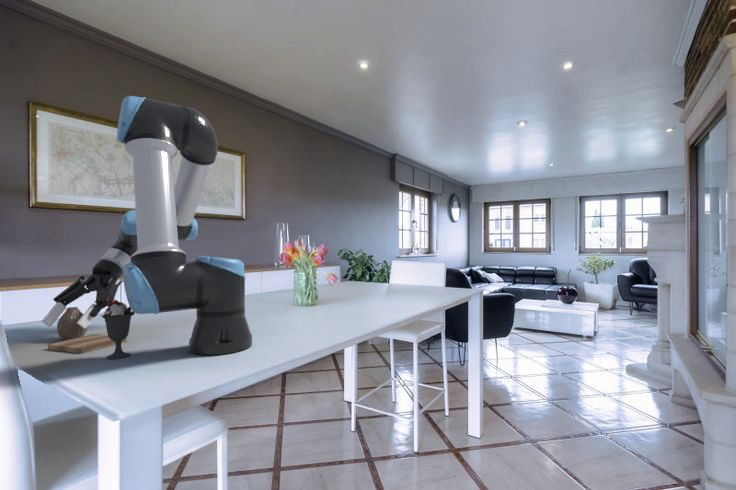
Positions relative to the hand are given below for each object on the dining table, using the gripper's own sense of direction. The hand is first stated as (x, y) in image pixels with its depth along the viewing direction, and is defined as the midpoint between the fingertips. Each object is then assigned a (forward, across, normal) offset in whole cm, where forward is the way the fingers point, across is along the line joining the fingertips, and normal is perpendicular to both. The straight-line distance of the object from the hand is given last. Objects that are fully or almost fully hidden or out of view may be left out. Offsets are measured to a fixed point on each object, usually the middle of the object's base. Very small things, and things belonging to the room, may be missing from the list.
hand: (63, 324), depth 106 cm
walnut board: (+5, -12, -1) cm, 13 cm away
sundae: (+10, -28, +3) cm, 30 cm away
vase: (+1, 0, -5) cm, 5 cm away
